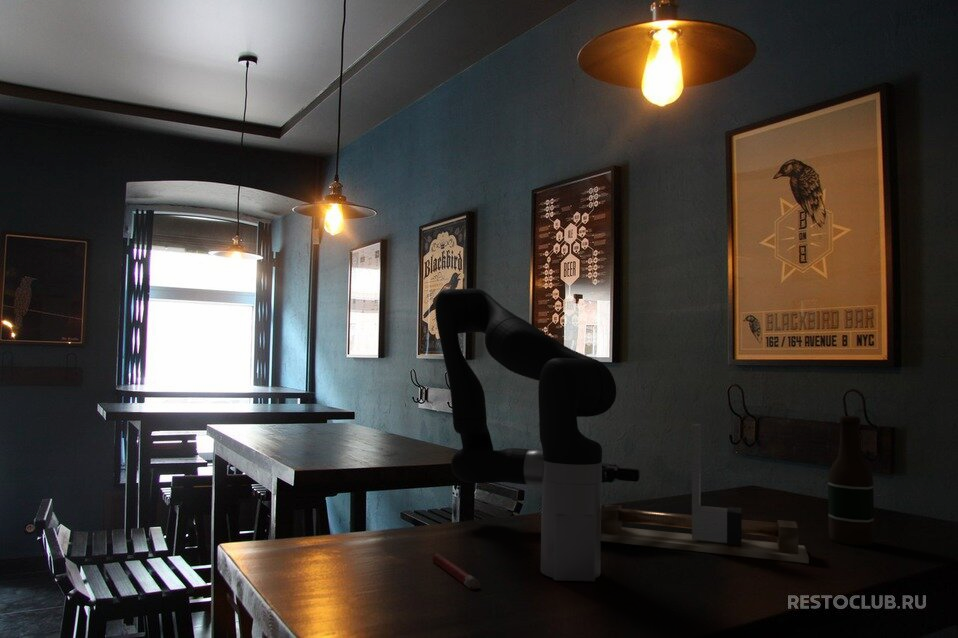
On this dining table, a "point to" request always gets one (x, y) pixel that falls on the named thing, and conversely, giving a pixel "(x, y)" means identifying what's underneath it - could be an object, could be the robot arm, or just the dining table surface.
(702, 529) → the grey l-shaped bracket
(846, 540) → the beer bottle
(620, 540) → the pipe stand
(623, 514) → the pipe
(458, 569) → the flare
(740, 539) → the ring
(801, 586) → the dining table surface
